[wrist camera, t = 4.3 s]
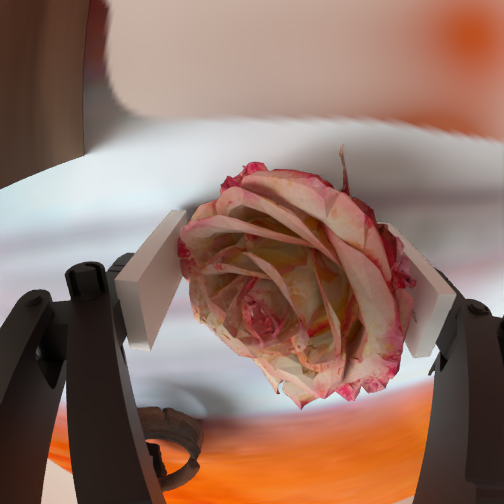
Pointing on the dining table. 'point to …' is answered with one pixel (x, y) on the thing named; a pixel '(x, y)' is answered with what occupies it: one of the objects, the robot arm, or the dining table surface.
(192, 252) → the flower
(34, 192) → the dining table surface
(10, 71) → the pedestal
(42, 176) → the dining table surface
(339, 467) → the dining table surface
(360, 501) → the dining table surface
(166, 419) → the pottery mug
